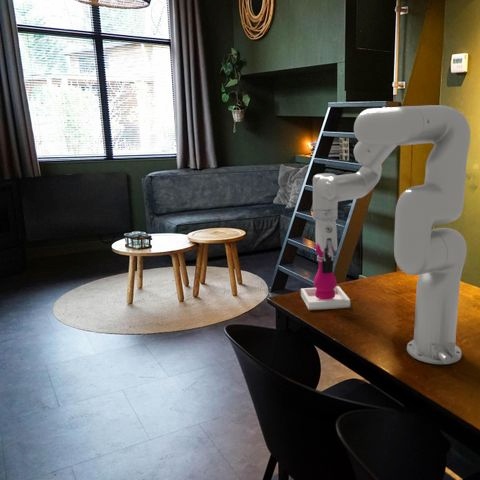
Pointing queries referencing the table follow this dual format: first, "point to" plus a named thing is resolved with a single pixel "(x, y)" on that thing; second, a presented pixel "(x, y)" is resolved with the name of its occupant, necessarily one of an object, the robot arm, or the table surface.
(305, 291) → the ceramic dish
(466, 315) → the table surface
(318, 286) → the pepper mill
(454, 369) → the table surface
